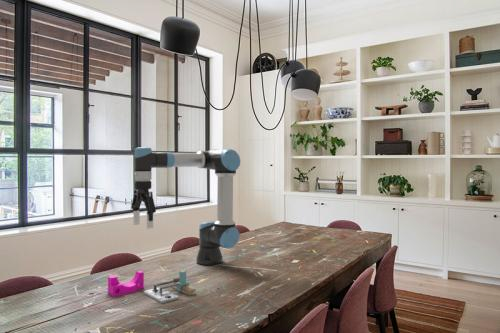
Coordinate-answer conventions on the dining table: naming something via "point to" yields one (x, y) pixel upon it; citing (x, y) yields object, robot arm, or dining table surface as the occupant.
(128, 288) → the toy block
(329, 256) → the dining table surface
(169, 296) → the bolt plate
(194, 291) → the rail
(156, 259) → the dining table surface
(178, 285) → the sliding trammel head
